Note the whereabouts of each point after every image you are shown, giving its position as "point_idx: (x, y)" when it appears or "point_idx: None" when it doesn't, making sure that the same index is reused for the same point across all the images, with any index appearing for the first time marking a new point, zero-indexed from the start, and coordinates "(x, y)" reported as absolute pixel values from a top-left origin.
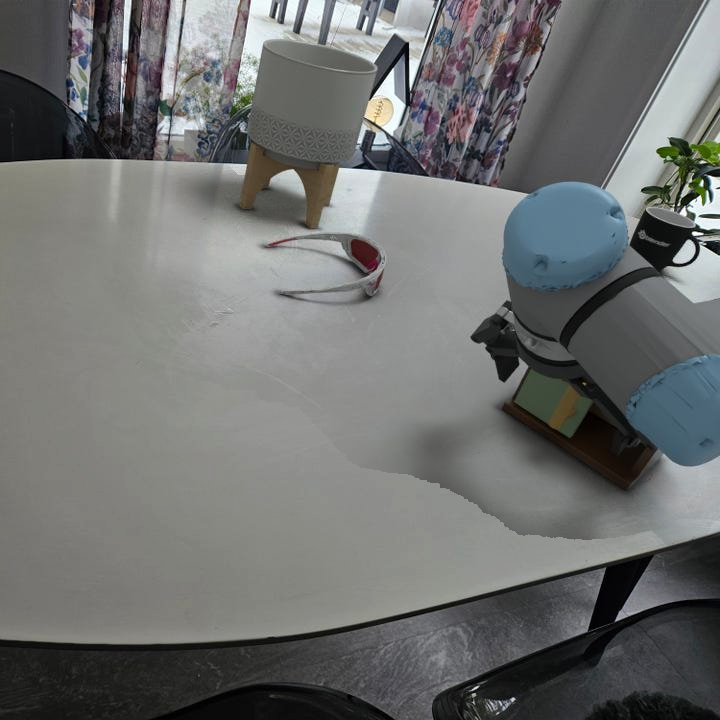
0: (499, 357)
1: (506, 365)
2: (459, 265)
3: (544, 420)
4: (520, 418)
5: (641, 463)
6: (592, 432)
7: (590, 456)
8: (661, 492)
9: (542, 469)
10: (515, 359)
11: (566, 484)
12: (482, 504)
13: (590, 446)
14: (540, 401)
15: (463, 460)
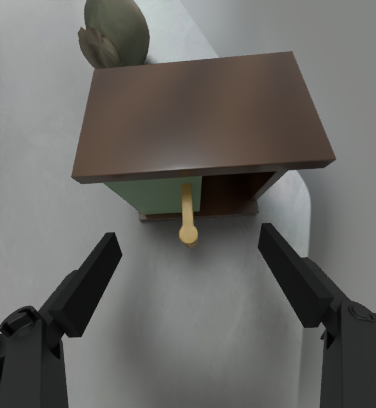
0: (74, 334)
1: (100, 284)
2: (22, 84)
3: (173, 212)
4: (158, 220)
5: (258, 195)
6: (203, 181)
7: (221, 213)
8: None
9: (206, 262)
10: (102, 258)
11: (228, 259)
12: (207, 378)
13: (213, 200)
14: (160, 209)
15: (160, 332)
